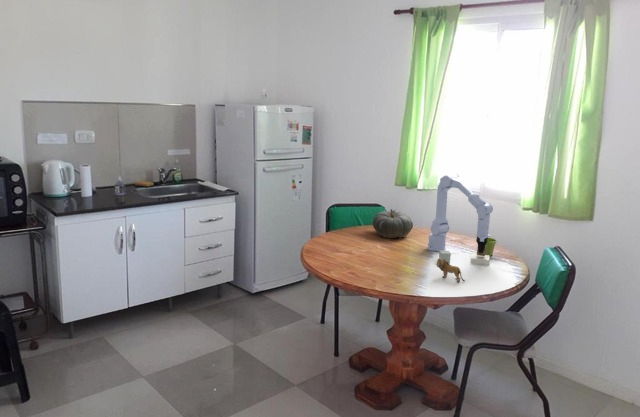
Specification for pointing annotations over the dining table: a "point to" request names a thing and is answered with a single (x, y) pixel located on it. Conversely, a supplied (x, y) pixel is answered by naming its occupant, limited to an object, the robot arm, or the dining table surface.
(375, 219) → the gourd
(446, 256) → the grey cube
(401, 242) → the dining table surface
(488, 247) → the plant pot
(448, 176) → the robot arm
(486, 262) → the cream block
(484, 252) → the walnut block
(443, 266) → the lion figurine
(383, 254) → the dining table surface
